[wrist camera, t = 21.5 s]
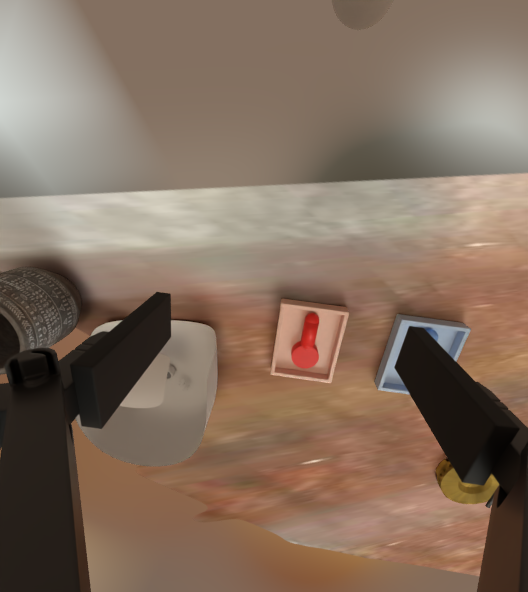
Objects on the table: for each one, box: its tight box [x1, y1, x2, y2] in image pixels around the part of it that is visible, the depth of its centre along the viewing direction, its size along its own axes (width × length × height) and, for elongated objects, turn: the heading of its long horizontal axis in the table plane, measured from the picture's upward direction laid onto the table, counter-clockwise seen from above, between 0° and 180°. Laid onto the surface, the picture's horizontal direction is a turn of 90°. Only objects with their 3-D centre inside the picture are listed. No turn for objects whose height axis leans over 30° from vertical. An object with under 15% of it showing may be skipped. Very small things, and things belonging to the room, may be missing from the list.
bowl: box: [75, 320, 218, 466], centre depth 44 cm, size 20×19×12 cm
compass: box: [436, 459, 499, 504], centre depth 53 cm, size 12×12×2 cm
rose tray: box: [271, 298, 349, 383], centre depth 44 cm, size 13×10×2 cm
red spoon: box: [291, 313, 319, 368], centre depth 44 cm, size 10×4×2 cm, turn 173°
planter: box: [0, 267, 81, 374], centre depth 40 cm, size 12×12×13 cm
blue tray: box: [375, 314, 471, 394], centre depth 44 cm, size 13×10×2 cm
